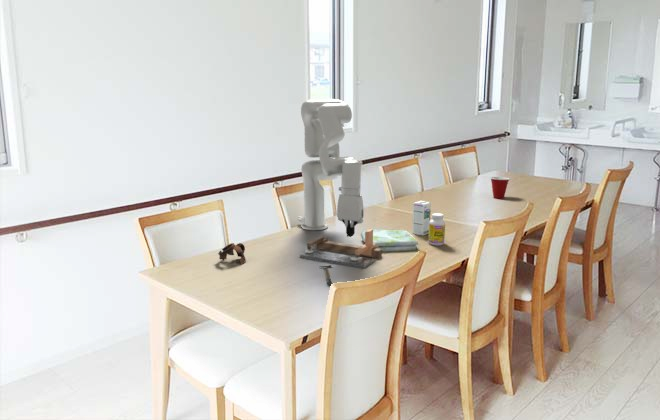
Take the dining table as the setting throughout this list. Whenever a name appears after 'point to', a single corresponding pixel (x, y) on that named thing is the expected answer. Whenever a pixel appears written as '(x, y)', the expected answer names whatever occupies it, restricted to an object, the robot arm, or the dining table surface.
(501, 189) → the plastic cup
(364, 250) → the sliding leg
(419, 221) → the syrup box
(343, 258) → the steel strip
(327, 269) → the tactical tomahawk
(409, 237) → the towel
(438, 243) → the supplement bottle
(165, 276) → the dining table surface
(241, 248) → the brown arched piece
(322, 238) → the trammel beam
